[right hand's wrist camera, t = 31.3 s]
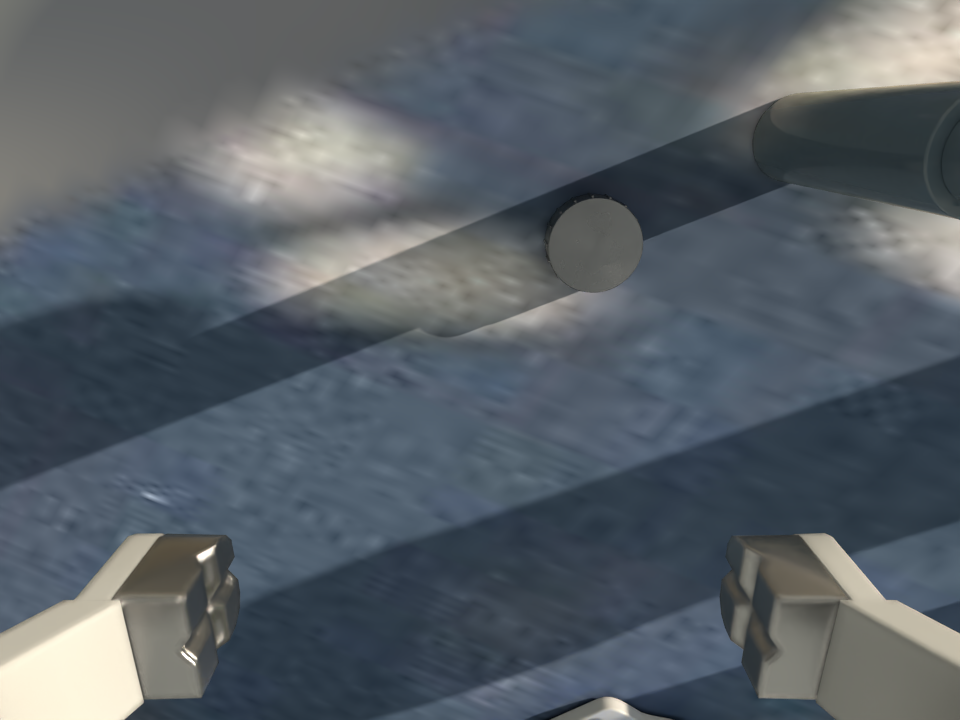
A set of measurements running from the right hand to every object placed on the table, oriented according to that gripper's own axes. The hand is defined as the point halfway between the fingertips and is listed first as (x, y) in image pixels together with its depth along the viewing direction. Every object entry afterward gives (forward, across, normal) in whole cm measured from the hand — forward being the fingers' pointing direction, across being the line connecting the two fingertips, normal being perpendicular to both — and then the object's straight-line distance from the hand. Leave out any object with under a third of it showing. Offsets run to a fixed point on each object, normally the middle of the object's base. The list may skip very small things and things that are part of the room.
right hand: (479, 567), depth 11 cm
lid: (+25, +6, +1) cm, 26 cm away
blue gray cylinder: (+27, +16, +6) cm, 32 cm away
